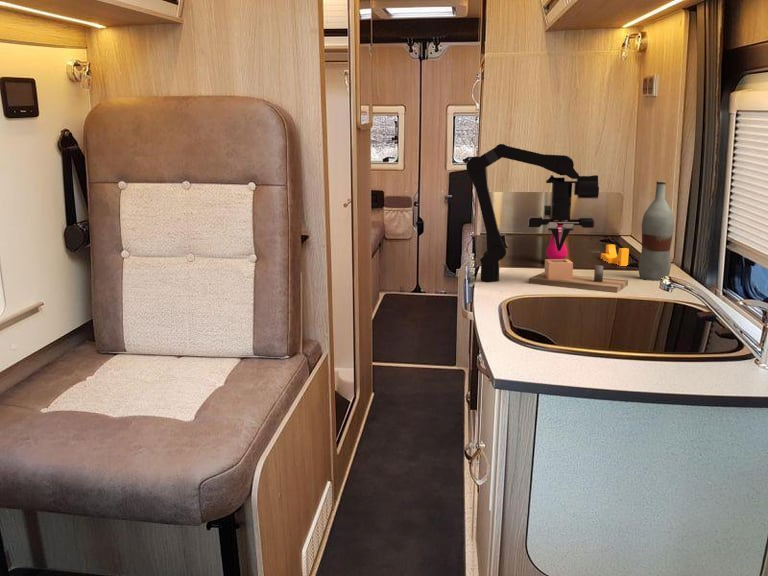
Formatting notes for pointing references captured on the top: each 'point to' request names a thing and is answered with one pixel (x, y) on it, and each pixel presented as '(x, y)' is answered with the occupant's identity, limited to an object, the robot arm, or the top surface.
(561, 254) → the pepper mill
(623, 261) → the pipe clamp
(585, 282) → the collar board
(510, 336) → the top surface
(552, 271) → the collar
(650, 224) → the bottle
